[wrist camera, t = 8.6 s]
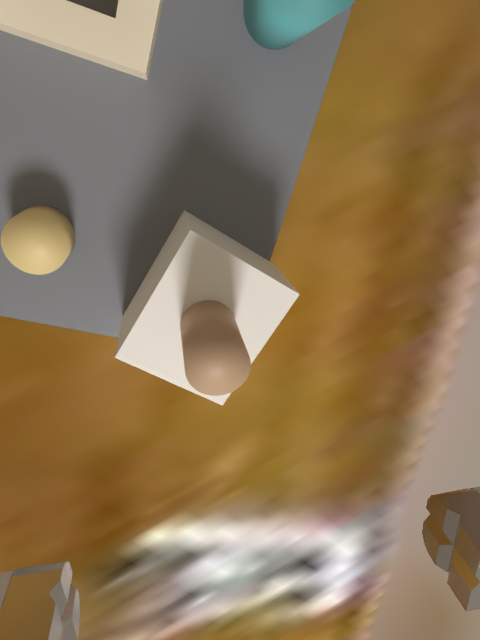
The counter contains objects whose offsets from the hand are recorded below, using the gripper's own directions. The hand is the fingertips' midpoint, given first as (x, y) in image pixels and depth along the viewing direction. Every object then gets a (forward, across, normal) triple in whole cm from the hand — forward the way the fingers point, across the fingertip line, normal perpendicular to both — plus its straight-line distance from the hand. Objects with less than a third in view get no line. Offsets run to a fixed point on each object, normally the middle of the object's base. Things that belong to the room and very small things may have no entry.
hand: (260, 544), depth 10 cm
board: (+18, +2, -8) cm, 20 cm away
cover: (+17, 0, 0) cm, 17 cm away
